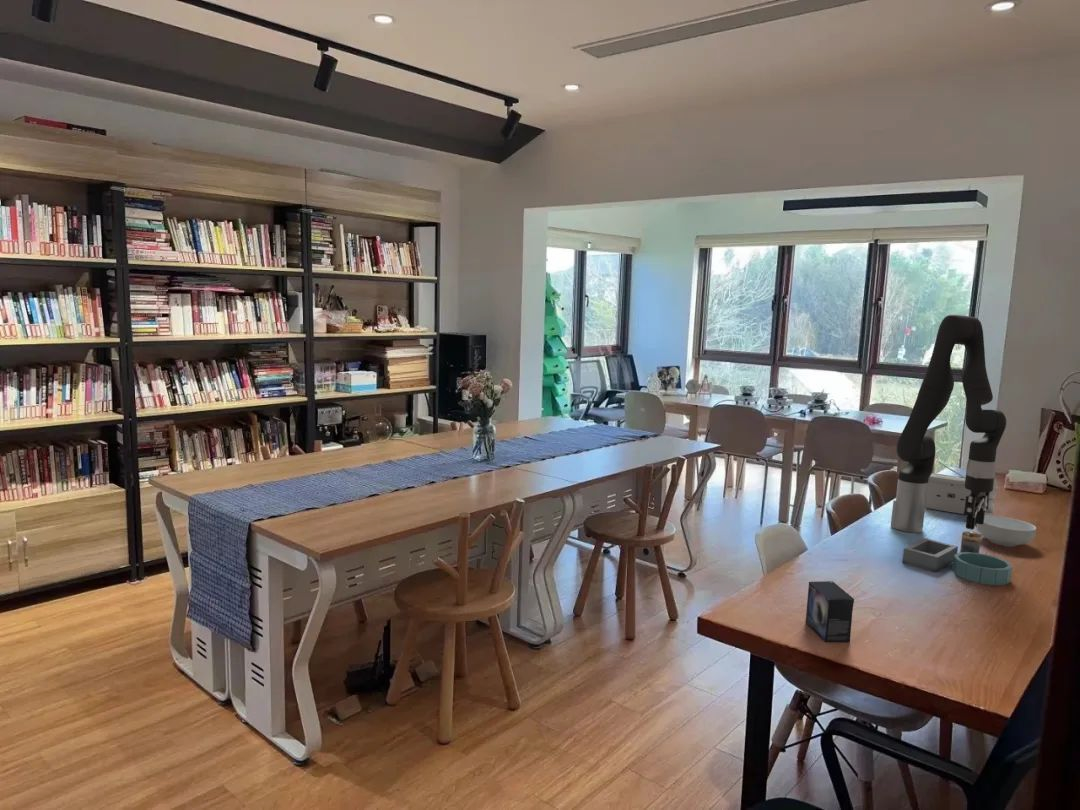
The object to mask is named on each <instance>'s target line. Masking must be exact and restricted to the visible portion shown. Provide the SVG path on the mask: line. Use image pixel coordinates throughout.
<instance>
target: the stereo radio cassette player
mask: <svg viewBox="0 0 1080 810" xmlns="http://www.w3.org/2000/svg"><path fill="white" fill-rule="evenodd" d="M934 462H937V463H938V464H941V465H942V466H943V467H944V468H946V469H948V470H950V471H951V472H952V473H955V474H956V475H958V476H956V475H950V474H942V473H937V472H936V473H934V472H932V473H931V475H930V477H929V480H928V488H927V497H926V505H925V510H927V509H929V510H936V511H941V512H949V513H953V514H960V515H964V509H965V501H966V496H969V495H970V494H971V491H970V490H968V489H966V488H965V478H966V476H963V475H962V474H960V473H959V472H957V471H955V470H954V469H952V468H951V467H949V466H946V465H945V464H943V463H942V462H940V461H939V460H936V459H935V458H934ZM970 512H972V510H970Z"/></svg>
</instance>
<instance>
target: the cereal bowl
mask: <svg viewBox="0 0 1080 810" xmlns="http://www.w3.org/2000/svg"><path fill="white" fill-rule="evenodd" d="M976 529H977V531H978V532H979V534H980V535H981V536H982V537H985V538H986V539H988V540H989V542H990V543H992V544H995V545H998V546H1001V547H1002V546H1003V547H1013V548H1014V547H1017V546H1019V545H1025V544H1029V543H1030V542H1032V541H1033V540H1034V539H1035V537H1036V533H1037V526H1035V525H1033V524H1032V523H1030V522H1028V521H1024V520H1020V519H1018V518H1017V519H1016V518H1012V517H1007V516H998V515H994V516H988V515H985V517H984V524H982V525H981V524H976Z"/></svg>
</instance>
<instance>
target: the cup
mask: <svg viewBox="0 0 1080 810" xmlns="http://www.w3.org/2000/svg"><path fill="white" fill-rule="evenodd" d="M951 571H952V572H953V573H954V575H956V576H958V577H960V578H961V579H963V580H966V581H970V582H974V583H977V584H981V585H989V586H1005V585H1006V586H1007V585H1008V584H1010V583H1011V581H1012V575H1013V574H1012V572H1013V565H1012V564H1011V563H1010V562H1009V561H1007V560H1005V559H1003V558H1001V557H997V556H993V555H989V554H985V553H980V552H979V553H972V552H962V553H960V552H957V554H955V555H954V560H953V563H952V570H951Z"/></svg>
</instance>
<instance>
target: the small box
mask: <svg viewBox="0 0 1080 810" xmlns="http://www.w3.org/2000/svg"><path fill="white" fill-rule="evenodd" d="M807 590H808V591H807V601H806V614H805V623H806V624H807V625H808V626H809V627H810V628H811V629H812V630H813V632H814V633H816V634H817V636H818V637H820V638H821V640H822V641H823V640H824V641H825V643H850V642H851V634H852V623H853V622H852V621H853V620H852V619H853V611H854V602H855V599H854V597H852V596H851V595H850V594H849V593H848V592H846V591H845V590H844V589H843V588H841V587H840V586H839V585H838V584H837V583H836V582H834V581H829V580H827V581H808V588H807ZM824 641H823V642H824Z"/></svg>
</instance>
